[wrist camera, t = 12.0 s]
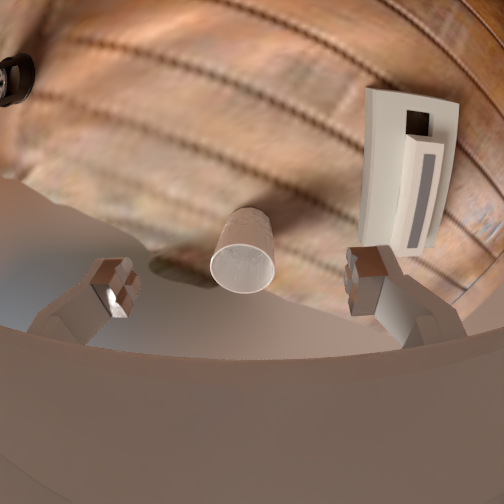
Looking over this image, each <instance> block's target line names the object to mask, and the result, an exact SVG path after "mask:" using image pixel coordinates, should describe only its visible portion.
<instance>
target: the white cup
mask: <svg viewBox="0 0 504 504" xmlns="http://www.w3.org/2000/svg"><path fill="white" fill-rule="evenodd" d="M210 270H211V274H212V276H213V278H214V279H215V280H216V282H217V283H218V284H220V285H221V286H222V287H224V288H226V289H228V290H230V291H233V292H237V293H254V292H258V291H260V290H262V289H264V288H266V287H267V286H268V285H269V284H270V283H271V282H272V280H273V278H274V275H275V258H274V242H273V234H272V226H271V223H270V219H269V218H268V217H267V216H266V215H265V214H264V213H263V212H262V211H260V210H258V209H255V208H253V207H250V208H240V209H238V210H236V211H234V212H233V213H232V214H231V215H230V217H229V218H228V219H227V222H226V224H225V226H224V228H223V230H222V233H221V235H220V238H219V240H218V243H217V246H216V248H215V251H214V254H213V257H212V259H211V263H210Z"/></svg>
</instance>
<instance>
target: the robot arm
mask: <svg viewBox="0 0 504 504" xmlns="http://www.w3.org/2000/svg"><path fill="white" fill-rule="evenodd" d="M346 259H347V262H348V264H347V265H346V266H345V270H344V285H345V290H346V293H347V294H348V295H349V299H348V304H349V308H350V313H351V316H365V315H374V316H375V318H376V319H377V320H378V321H379V322H380V323H381V324H382V325H383V326H384V327H385V328H386V329H387V330H388V331H389V333H390V334H391V335H392V336H393V337H394V338H395V339H396V340H397V341H398V342H399V343H400V345H401V346H402V349H400V350H393V351H385V352H377V353H369V354H360V355H351V356H339V357H325V358H309V359H286V360H285V359H284V360H225V359H201V358H185V357H172V356H160V355H151V354H141V353H132V352H125V351H118V350H111V349H104V348H98V347H92V346H86V345H85V344H87V343H88V342H89V341H90V339H91V338H92V337H93V336H94V335H95V334H96V333H97V332H98V331H99V330H100V329H101V328H102V327H103V326H104V325H105V324H106V323H107V322H108V321H109V320H110V319H111V317H120V318H128V317H129V315H130V312H131V310H132V308H133V306H134V305H133V302H132V301H133V300H134V299H136V298H137V297H138V295H139V292H140V280H139V277H138V275H137V274H136V273H135V272H134V271H133V270H132V268H133V264H132V262H131V260H130V259H128V258H99V259H96V260H95V262H94V263H93V264H92V266H91V267H90V269H89V270H88V272H87V273H86V275H85V276H84V278H83V279H82V281H81V282H80V284H76V285H75V286H73V287H72V288H71V289H69V290H68V291H67V292H65V293H64V294H62V295H61V296H60V297H59V298H57V299H56V300H54V301H53V302H52V303H50V304H49V305H48V306H47V307H45V308H44V309H42V310H41V311H40V312H38V314H37V315H36V317H35V319H34V320H33V322H32V324H31V325H30V327H29V329H28V330H27V332H22V331H19V330H15V329H11V328H8V327H4V326H1V325H0V504H504V327H502V328H498V329H495V330H491V331H487V332H484V333H480V334H476V335H472V336H467V334H466V331H465V329H464V327H463V325H462V322H461V320H460V318H459V316H458V313H457V311H456V309H454V308H453V307H452V306H450V305H449V304H448V303H446V302H445V301H444V300H442V299H441V298H440V297H438V296H437V295H435V294H434V293H433V292H431V291H430V290H428V289H427V288H426V287H424V286H423V285H421V284H420V283H419V282H417V281H416V280H414V279H413V278H412V277H410V276H409V275H403V272H402V270H401V268H400V266H399V264H398V262H397V260H396V258H395V256H394V254H393V252H392V250H391V248H390V246H389V245H376V246H367V247H348V249H347V253H346Z"/></svg>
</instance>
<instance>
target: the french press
mask: <svg viewBox="0 0 504 504" xmlns="http://www.w3.org/2000/svg"><path fill="white" fill-rule="evenodd" d="M16 65H18V67H19V72H20V83H19V88H18V92H17V93H15V94H12V95H10V93H9V91H8V88H7V87H8V73H9V70H10V68H11V67H12V66H16ZM34 77H35V69H34V64H33V61H32V59H31V57H30V56H29V55H27V54H24V53H21V54H18V55H16V56H12V57H7V58H5V59H3V60H2V61H1V62H0V107H7V106H10V105H13V104H18V103H21V102H23V101H24V100H25V99H26V98H27V97H28V95H29V94H30V91H31V89H32V86H33V83H34Z"/></svg>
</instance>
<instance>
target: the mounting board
mask: <svg viewBox="0 0 504 504" xmlns="http://www.w3.org/2000/svg"><path fill="white" fill-rule="evenodd" d="M407 110H412V111H419V112H426V113H430V114H429V129H428V137H433V138H435V139H437V140H438V141H440V142H442V143H443V144H444V152H443V159H442V166H441V172H440V178H439V184H438V189H437V194H436V199H435V204H434V209H433V213H432V217H431V222H430V226H429V230H428V234H427V237H426V241H425V245H424V248H434V244H435V241H436V238H437V234H438V230H439V227H440V223H441V219H442V215H443V211H444V207H445V202H446V198H447V193H448V188H449V183H450V178H451V172H452V166H453V160H454V153H455V146H456V137H457V128H458V116H459V104H458V103H455V102H452V101H449V100H446V99H443V98H438V97H433V96H428V95H422V94H417V93H410V92H404V91H396V90H388V89H379V88H368V87H365V145H364V165H363V181H362V193H361V204H360V214H359V223H358V232H357V235H358V237H359V240H360V242H361V245H362V247H367V246H376V245H389V246H390V248H391V249H393V248H392V246H391V244H390V243H391V238H392V233H393V228H394V223H395V217H396V212H397V204H398V197H399V191H400V185H401V178H402V169H403V160H404V150H405V134H406V115H407Z"/></svg>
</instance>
